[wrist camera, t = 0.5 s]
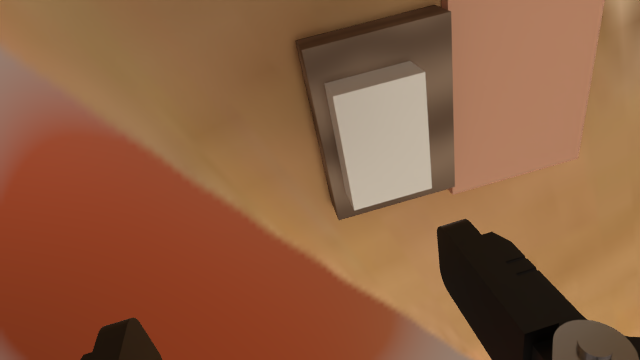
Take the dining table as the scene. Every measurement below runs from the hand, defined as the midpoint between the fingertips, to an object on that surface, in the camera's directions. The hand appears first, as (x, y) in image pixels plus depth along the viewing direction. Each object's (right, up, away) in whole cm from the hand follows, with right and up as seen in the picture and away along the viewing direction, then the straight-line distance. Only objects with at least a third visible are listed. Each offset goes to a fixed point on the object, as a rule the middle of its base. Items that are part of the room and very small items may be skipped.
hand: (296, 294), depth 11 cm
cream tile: (+5, +6, +20) cm, 21 cm away
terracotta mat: (+16, +11, +23) cm, 30 cm away
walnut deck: (+5, +8, +22) cm, 24 cm away
